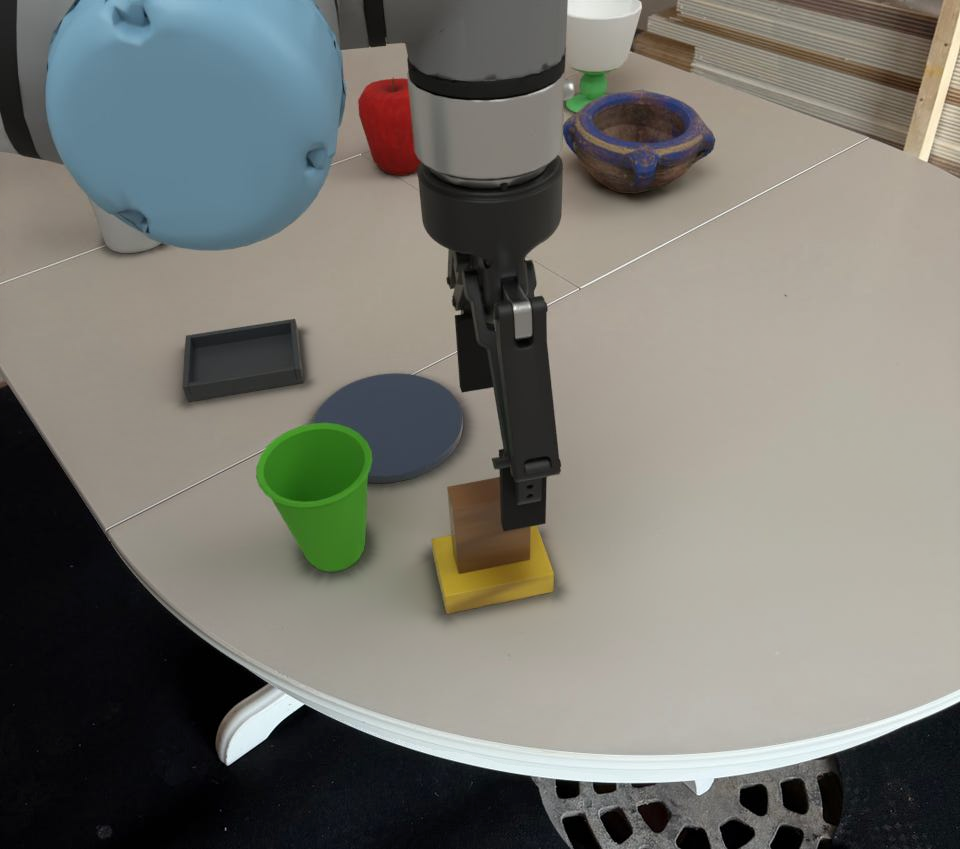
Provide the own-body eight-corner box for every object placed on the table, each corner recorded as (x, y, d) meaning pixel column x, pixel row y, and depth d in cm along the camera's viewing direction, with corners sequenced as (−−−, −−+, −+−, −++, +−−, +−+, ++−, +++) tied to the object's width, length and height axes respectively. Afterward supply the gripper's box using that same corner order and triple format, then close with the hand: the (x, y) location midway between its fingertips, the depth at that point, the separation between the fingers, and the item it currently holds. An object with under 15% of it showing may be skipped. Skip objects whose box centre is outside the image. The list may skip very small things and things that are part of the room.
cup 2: (537, 99, 142) (538, 0, 131) (604, 83, 146) (610, -14, 136) (579, 127, 133) (584, 24, 122) (649, 110, 137) (660, 8, 126)
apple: (440, 152, 128) (434, 63, 119) (431, 183, 121) (423, 90, 111) (374, 152, 129) (362, 63, 120) (360, 182, 122) (347, 90, 112)
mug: (94, 239, 112) (63, 163, 104) (149, 215, 116) (124, 140, 109) (139, 270, 106) (111, 192, 98) (196, 243, 110) (173, 167, 103)
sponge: (446, 614, 66) (437, 531, 59) (433, 556, 71) (423, 473, 64) (553, 592, 68) (557, 508, 60) (534, 536, 72) (535, 452, 65)
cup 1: (408, 548, 71) (395, 460, 64) (324, 611, 67) (299, 524, 59) (345, 494, 76) (326, 406, 69) (263, 550, 72) (233, 462, 64)
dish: (187, 402, 87) (182, 387, 85) (190, 350, 93) (185, 335, 92) (303, 382, 88) (300, 367, 87) (298, 333, 95) (295, 318, 93)
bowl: (625, 225, 110) (633, 154, 103) (547, 174, 122) (548, 107, 115) (723, 187, 117) (736, 118, 110) (640, 143, 128) (646, 78, 121)
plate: (320, 496, 76) (318, 488, 76) (308, 393, 87) (307, 386, 86) (477, 467, 78) (476, 459, 78) (447, 370, 89) (446, 363, 88)
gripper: (645, 274, 33) (609, 583, 48) (505, 62, 51) (509, 334, 66) (465, 302, 33) (484, 609, 47) (386, 76, 50) (417, 349, 65)
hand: (498, 449), depth 57 cm, fingers open, 13 cm apart
